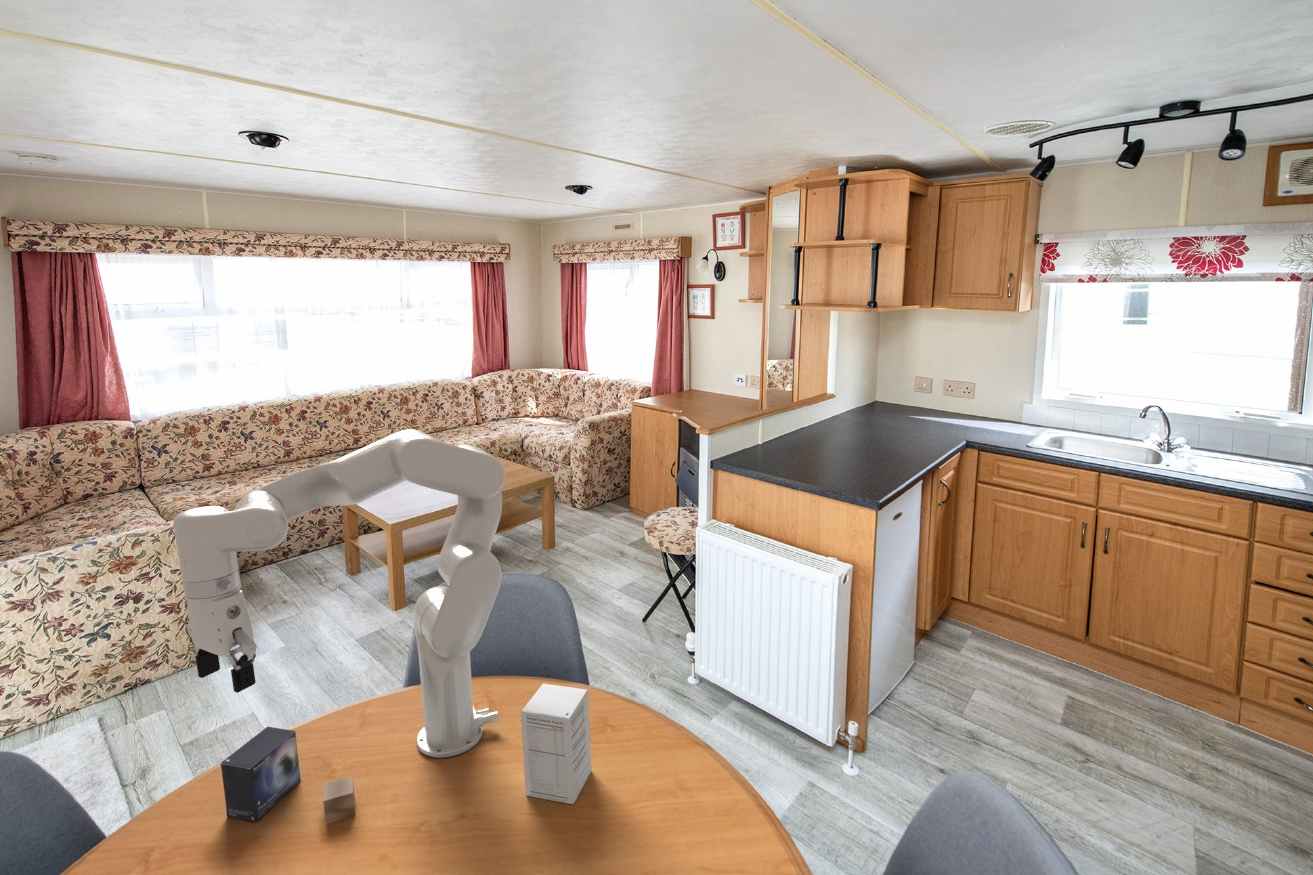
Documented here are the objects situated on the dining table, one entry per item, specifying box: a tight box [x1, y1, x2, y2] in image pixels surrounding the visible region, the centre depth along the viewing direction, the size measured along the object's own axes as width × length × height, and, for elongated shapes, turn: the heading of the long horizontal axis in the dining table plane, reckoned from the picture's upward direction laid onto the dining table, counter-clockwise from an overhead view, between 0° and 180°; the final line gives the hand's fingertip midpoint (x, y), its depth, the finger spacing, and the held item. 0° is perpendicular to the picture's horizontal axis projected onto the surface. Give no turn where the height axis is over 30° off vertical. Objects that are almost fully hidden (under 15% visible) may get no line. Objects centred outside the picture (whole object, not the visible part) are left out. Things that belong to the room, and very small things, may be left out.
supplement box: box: [520, 683, 592, 805], centre depth 117 cm, size 10×9×17 cm
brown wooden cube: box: [322, 775, 356, 825], centre depth 112 cm, size 4×4×4 cm
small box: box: [220, 726, 302, 823], centre depth 114 cm, size 11×6×10 cm, turn 168°
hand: (227, 680), depth 107 cm, fingers open, 9 cm apart
